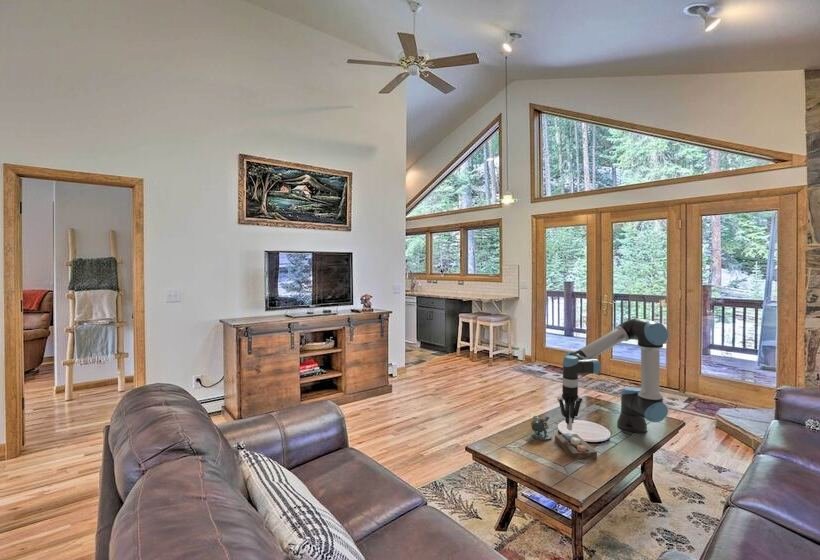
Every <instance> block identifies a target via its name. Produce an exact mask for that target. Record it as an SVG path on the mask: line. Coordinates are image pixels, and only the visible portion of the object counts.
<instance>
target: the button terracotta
mask: <svg viewBox="0 0 820 560" xmlns="http://www.w3.org/2000/svg"><path fill="white" fill-rule="evenodd" d="M586 449H587V447H586V446H584V445H577V451H579V452H586Z"/></svg>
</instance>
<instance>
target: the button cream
mask: <svg viewBox="0 0 820 560" xmlns="http://www.w3.org/2000/svg"><path fill="white" fill-rule="evenodd" d="M570 444H571V445H572V446H577V445H580V439H578V438H575V437H572V438H571V442H570Z"/></svg>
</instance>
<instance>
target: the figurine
mask: <svg viewBox="0 0 820 560" xmlns="http://www.w3.org/2000/svg"><path fill="white" fill-rule="evenodd" d="M532 418H533V420H532V421H531V423H530V425H531V429H532V432H531V435H530V436H531V437H532V438H533V439H535V440H537V441H540V442H548V441H551V440H552V437H553V435H552V434H551V433H549V432H548V431H547V430H548V429H549V428H550V427H549V424H548V423H547V422H548V421H549V420H550V417H549V416H544V418H540V417H539V416H538V415H533V416H532Z"/></svg>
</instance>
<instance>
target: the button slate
mask: <svg viewBox="0 0 820 560" xmlns="http://www.w3.org/2000/svg"><path fill="white" fill-rule="evenodd" d="M564 434H565V436H564V438H565V439H566V440H571V438H572V437H573V435H572V434H573V433H568V432H566V433H564Z"/></svg>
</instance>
